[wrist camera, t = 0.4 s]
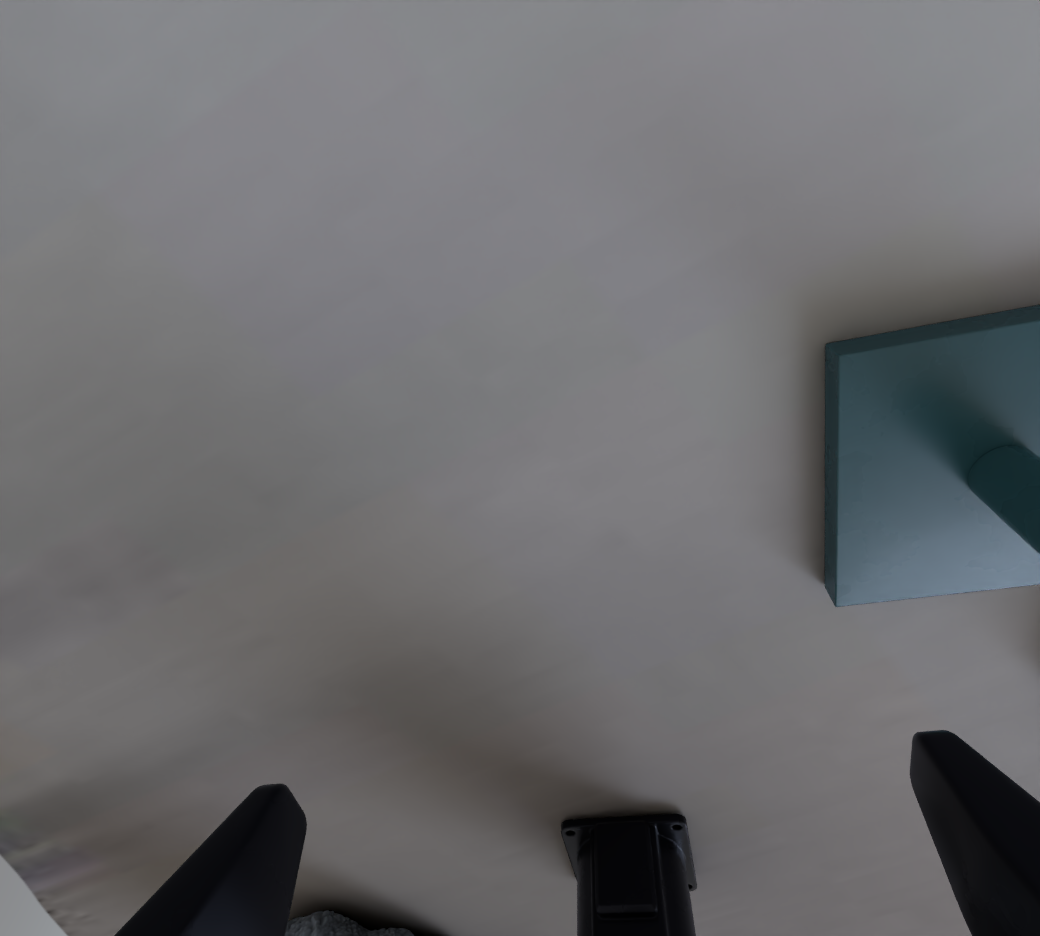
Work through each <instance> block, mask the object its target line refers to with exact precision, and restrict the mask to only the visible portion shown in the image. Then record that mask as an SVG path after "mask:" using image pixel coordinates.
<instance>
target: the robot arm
mask: <svg viewBox="0 0 1040 936" xmlns="http://www.w3.org/2000/svg"><path fill="white" fill-rule="evenodd" d="M910 779H911V783H912V787H913V790H914V793H915V796H916V798H917V801H918V803H919V806H920V808H921V811H922V813H923V816H924V818H925V821H926V823H927V826H928V829H929V831H930V834H931V836H932V839H933V841H934V844H935V846H936V849H937V851H938V854H939V856H940V859H941V862H942V864H943V867H944V869H945V872H946V874H947V877H948V879H949V882H950V884H951V887H952V890H953V892H954V895H955V897H956V900H957V902H958V904H959V907H960V909H961V912H962V914H963V917H964V919H965V921H966V924H967V926H968V928H969V930H970V932H971V934H972V936H1040V802H1039V801H1037V800H1036V799H1035V798H1034V797H1032V796H1031V795H1030V794H1029V793H1027V792H1026V791H1025V790H1024V789H1022V788H1021V787H1020V786H1019V785H1017V784H1016V783H1015V782H1014V781H1013V780H1011V779H1010V778H1009V777H1008V776H1006V775H1005V774H1004V773H1003V772H1001V771H1000V770H999V769H998V768H996V767H995V766H994V765H993V764H991V763H990V762H989V761H988V760H986V759H985V758H984V757H983V756H981V755H980V754H979V753H978V752H977V751H975V750H974V749H973V748H972V747H970V746H969V745H968V744H967V743H965V742H964V741H963V740H962V739H960V738H959V737H958V736H957V735H955V734H953V733H952V732H949V731H946V730H939V731H926V732H918V733H916V734H915V735H914V736H913V740H912V751H911V763H910ZM306 826H307V823H306V817H305V814H304V812H303V810H302V809H301V807H300V805H299V804H298V802H297V801H296V799H295V797H294V796H293V794H292V793H291V791H290V790H289V788H288V787H287V786H286V785H284V784H270V785H262V786H259V787H257V788H256V789H255V790H254V791H252V792H251V793H250V794H249V796H248V797H247V798H246V799H245V800H244V801H243V802H242V803H241V804H240V805H239V806H238V807H237V808H236V809H235V810H234V811H233V812H232V813H231V814H230V815H229V816H228V817H227V818H226V820H225V821H224V822H223V823H222V824H221V825H220V826H219V827H218V828H217V829H216V830H215V831H214V832H213V833H212V834H211V835H210V836H209V837H208V838H207V839H206V840H205V841H204V843H203V844H202V845H201V846H200V847H199V848H198V849H197V850H196V851H195V852H194V853H193V854H192V855H191V856H190V857H189V858H188V859H187V860H186V861H185V862H184V863H183V864H182V866H181V867H180V868H179V869H178V870H177V871H176V872H175V873H174V874H173V875H172V876H171V877H170V878H169V879H168V880H167V881H166V882H165V883H164V884H163V885H162V886H161V887H160V888H159V890H158V891H157V892H156V893H155V894H154V895H153V896H152V897H151V898H150V899H149V900H148V901H147V902H146V903H145V904H144V905H143V906H142V907H141V908H140V909H139V910H138V911H137V913H136V914H135V915H134V916H133V917H132V918H131V919H130V920H129V921H128V922H127V923H126V924H125V925H124V926H123V927H122V928H121V929H120V930H119V931H118V932H117V933H116V934H115V936H285V932H286V928H287V924H288V919H289V914H290V909H291V904H292V899H293V894H294V889H295V884H296V879H297V874H298V869H299V864H300V860H301V855H302V850H303V845H304V840H305V835H306ZM561 834H562V837H563V840H564V843H565V846H566V849H567V852H568V856H569V859H570V862H571V865H572V868H573V871H574V874H575V877H576V880H577V936H696V934H695V927H694V920H693V913H692V906H691V899H690V893H689V891H693V890H695V889H696V888H697V883H696V877H695V871H694V865H693V859H692V853H691V847H690V841H689V835H688V829H687V823H686V819H685V817H684V816H682V815H680V814H665V815H648V816H630V817H612V818H595V819H577V820H566V821H564V822H563V823H562V824H561Z"/></svg>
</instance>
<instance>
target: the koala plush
mask: <svg viewBox="0 0 1040 936" xmlns="http://www.w3.org/2000/svg"><path fill="white" fill-rule="evenodd" d="M285 936H414V934H412V933H411V931H409V930H407V929H405V928H399V929H398V928H397V929H396V928H388V929H387V930H386V929H385V928H382V929H380V930H373V931H369V930H367V929H366V928H363V927H362V926H361V925H358V923H357V922H355V921H353V920H350V919H349V918H348V917H344V916H343V915H340V914H336V913H335V914H334V911H331V912H330V911H329V910H327V911H324V912H322V911H318V912H315V913H312V915H308V916H306V917H302V916H301V917H298V918H293V920H291V921H288V924H287V928H286V932H285Z"/></svg>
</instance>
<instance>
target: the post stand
mask: <svg viewBox="0 0 1040 936" xmlns="http://www.w3.org/2000/svg"><path fill="white" fill-rule="evenodd" d="M1039 584H1040V305H1035V306H1030V307H1024V308H1019V309H1013V310H1008V311H1002V312H997V313H992V314H986V315H981V316H975V317H970V318H964V319H959V320H953V321H948V322H942V323H937V324H931V325H926V326H920V327H915V328H910V329H904V330H899V331H893V332H888V333H882V334H877V335H871V336H866V337H860V338H855V339H849V340H844V341H838V342H833V343H828V344H826V346H825V588H826V590H827V592H828V594H829V596H830V597H831V599H832V601H833V603H834V605H835V606H836V607H840V606H849V605H858V604H867V603H876V602H885V601H894V600H903V599H912V598H921V597H930V596H939V595H948V594H958V593H967V592H976V591H985V590H994V589H1003V588H1012V587H1021V586H1030V585H1039Z"/></svg>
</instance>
